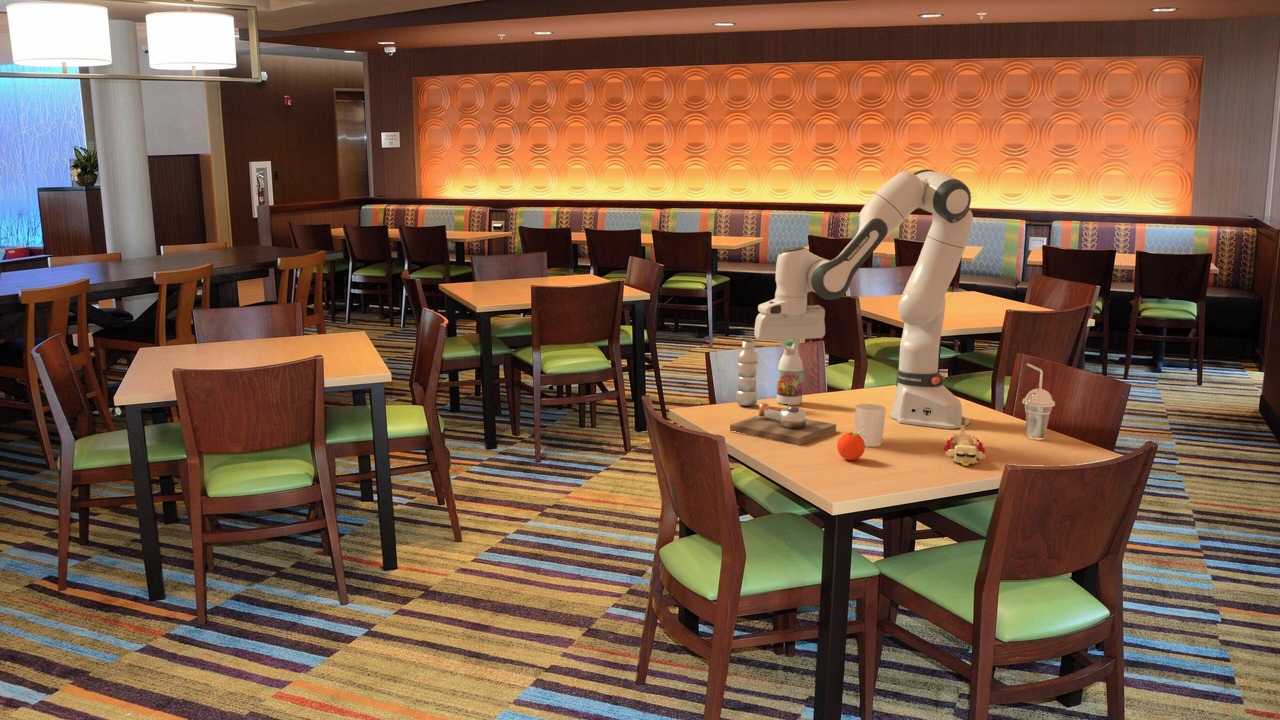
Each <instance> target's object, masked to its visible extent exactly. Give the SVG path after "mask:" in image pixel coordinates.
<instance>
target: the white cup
mask: <svg viewBox="0 0 1280 720" xmlns="http://www.w3.org/2000/svg"><path fill="white" fill-rule="evenodd" d="M854 409H855V413H854V414H855V420H854V422H855V423H854V424H855V425H854V426H855V433H859V434H862V435H863V436H862V435H859V436H861V437H862V439H863V440H864V443H865V447H869V448H871V447H872V448H874V447H880V446H881V445H882V444H883V434H884V429H885V420H886V410H887V408H886V407H885V406H883V405H882V404H881V405H880V404H875V403H860V404H856V405H855V408H854ZM864 436H865V437H864ZM868 441H869V442H868Z"/></svg>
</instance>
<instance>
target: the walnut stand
mask: <svg viewBox="0 0 1280 720" xmlns="http://www.w3.org/2000/svg"><path fill="white" fill-rule="evenodd" d="M730 431H736V432H740V433H745V434H748V435H747V436H749V435H753V436H752V437H754V436H758V437H757V438H759V437H761V438H760V439H764V438H766V440H769V439H771V441H774V440H775V442H779V441H780V443H785V444H791V445H794V446H795V445H796V446H801V445H804V444H807V443H809V442H811V441H814V440H817V439H820V438H822V437H824V436H829V435H830V434H832V433H833V434H834V433H835V432H836V431H837V424H836V423H830V422H825V421H820V420H814V419H809V418H806V426H805V427H803V428H786V427H782V426H781V425H780V420H777V419H773V418H769V417H765V416H759V414H758V415H754V416H753V417H750V418H747V419H743V420H741V421H736V422H734V423H731V424H730V425H729V432H730Z"/></svg>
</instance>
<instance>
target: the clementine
mask: <svg viewBox="0 0 1280 720" xmlns="http://www.w3.org/2000/svg"><path fill="white" fill-rule="evenodd" d="M859 435H862V434H859V433H856V432H846V433H844V434H842V435H841V436H840V438H839V439H838V441H837V444H836V447H837V448H836V449H837V452H838V454H839V455H840V457H841V458H843V459H845V460H847V461H855V460H858V459H860V458H861V457H862V456H863V455H864V452H865V450H866V446H865V443H864V440H863V439H862V437H861V436H859ZM862 436H863V435H862ZM864 437H865V436H864ZM868 442H869V441H868Z"/></svg>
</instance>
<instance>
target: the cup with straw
mask: <svg viewBox="0 0 1280 720" xmlns="http://www.w3.org/2000/svg"><path fill="white" fill-rule="evenodd" d="M1026 366H1027V367H1030V368H1031V369H1033V370H1036V371H1038V372H1039V383H1038V388H1034V389H1031V390H1030V391H1029V392H1028V393H1027V394H1026V396H1025V397H1024V398H1023V399H1022V401H1021V403H1022V404H1023V405H1024V409H1025V411H1024V412H1025V424H1026V426H1025V427H1026V428H1025V429H1026V431H1025V432H1026V437H1027V436H1028V437H1032V438H1044V439H1045V436H1046V435H1047V434H1046V433H1047V429H1048V428H1047V427H1048V424H1049V419H1050V415H1051V412H1052V409H1053V408H1052V407H1055V406H1056V403H1055V401H1054V399H1053V398H1052V395H1051V394H1050V391H1047V390H1046V389H1043V388H1042V387H1043V378H1044V377H1043V376H1044V372H1043V370H1042V369H1041V368H1039V367H1037V366H1035V365H1033V364H1031V363H1026Z"/></svg>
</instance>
